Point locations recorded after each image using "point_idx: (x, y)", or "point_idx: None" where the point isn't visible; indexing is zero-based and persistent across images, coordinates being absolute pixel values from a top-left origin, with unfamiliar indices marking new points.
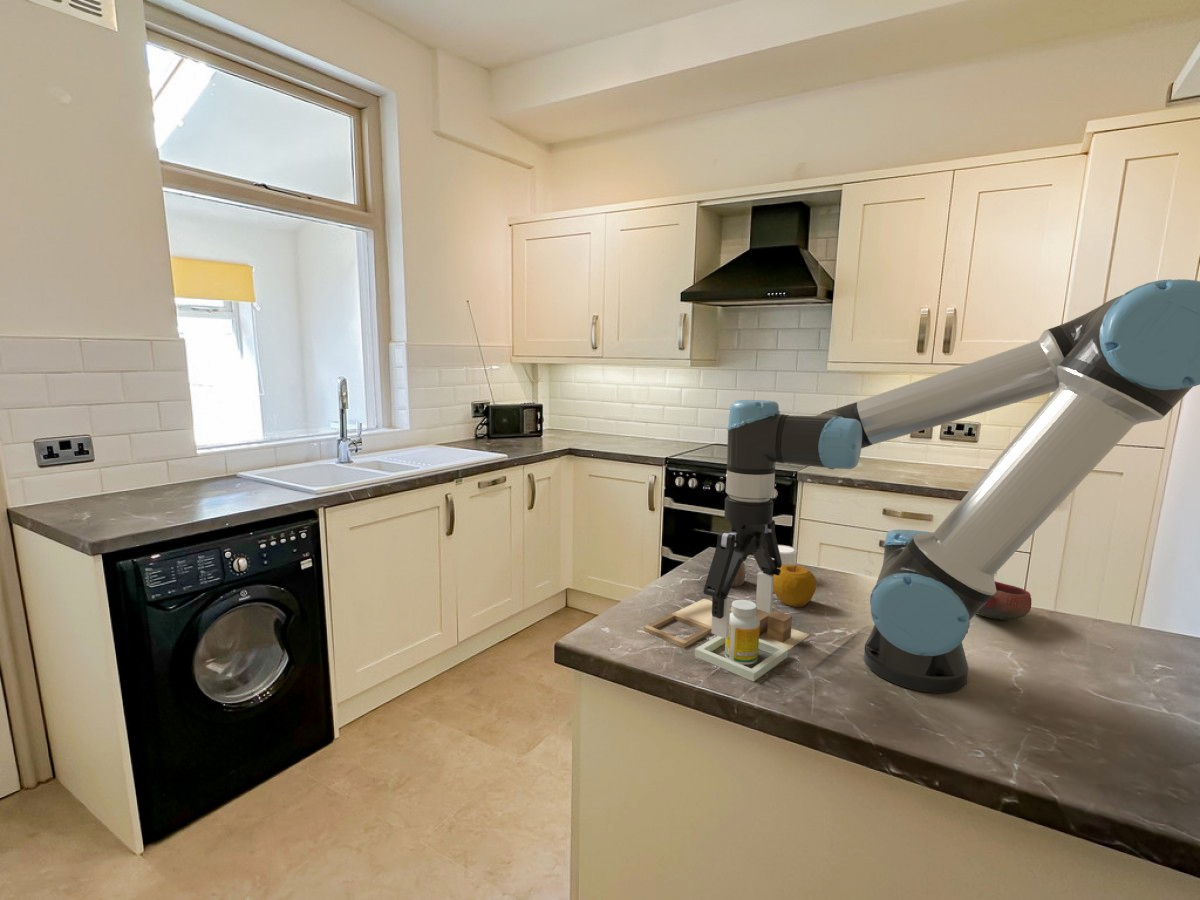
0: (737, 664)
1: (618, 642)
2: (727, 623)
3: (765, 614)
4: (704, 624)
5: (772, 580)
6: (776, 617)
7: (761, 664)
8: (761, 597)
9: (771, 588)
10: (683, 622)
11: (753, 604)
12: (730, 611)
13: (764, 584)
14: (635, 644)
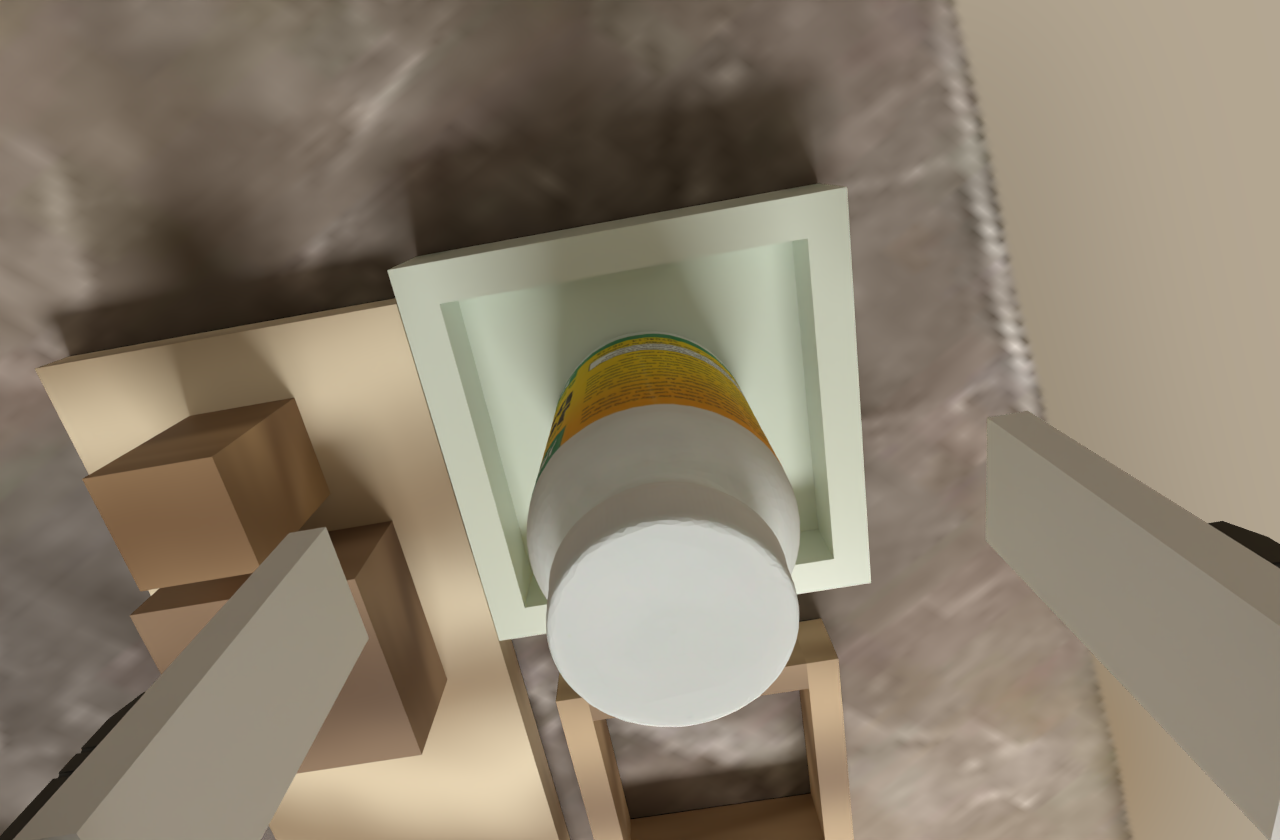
0: (831, 327)
1: (962, 823)
2: (1102, 467)
3: None
4: (574, 744)
5: (95, 780)
6: (219, 525)
7: (708, 238)
8: (302, 680)
9: (182, 692)
10: (621, 811)
11: (594, 582)
12: (409, 750)
13: (212, 783)
14: (919, 781)
